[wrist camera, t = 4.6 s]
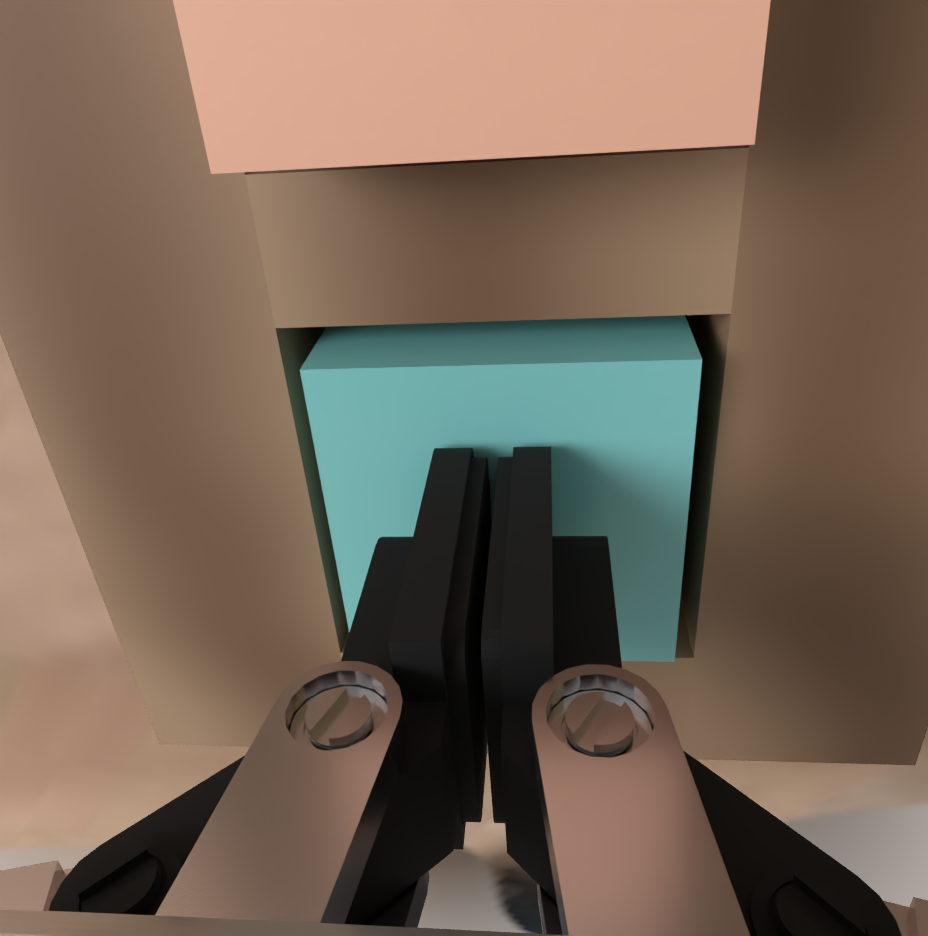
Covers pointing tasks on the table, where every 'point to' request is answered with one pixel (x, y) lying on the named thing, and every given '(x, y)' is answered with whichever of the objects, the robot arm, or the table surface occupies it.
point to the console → (481, 300)
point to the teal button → (518, 439)
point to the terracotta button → (468, 78)
